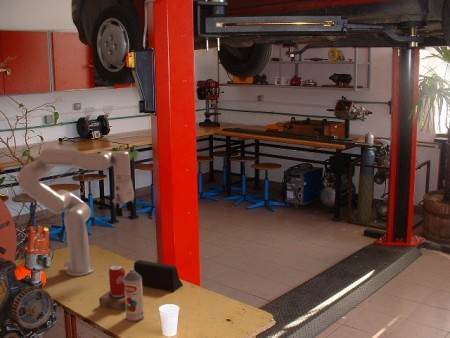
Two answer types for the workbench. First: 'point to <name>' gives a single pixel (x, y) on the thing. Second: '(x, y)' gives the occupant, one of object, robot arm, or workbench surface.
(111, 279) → the beverage can
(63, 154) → the robot arm
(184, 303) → the workbench surface
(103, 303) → the walnut plinth
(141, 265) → the barrier
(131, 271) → the aerosol can
